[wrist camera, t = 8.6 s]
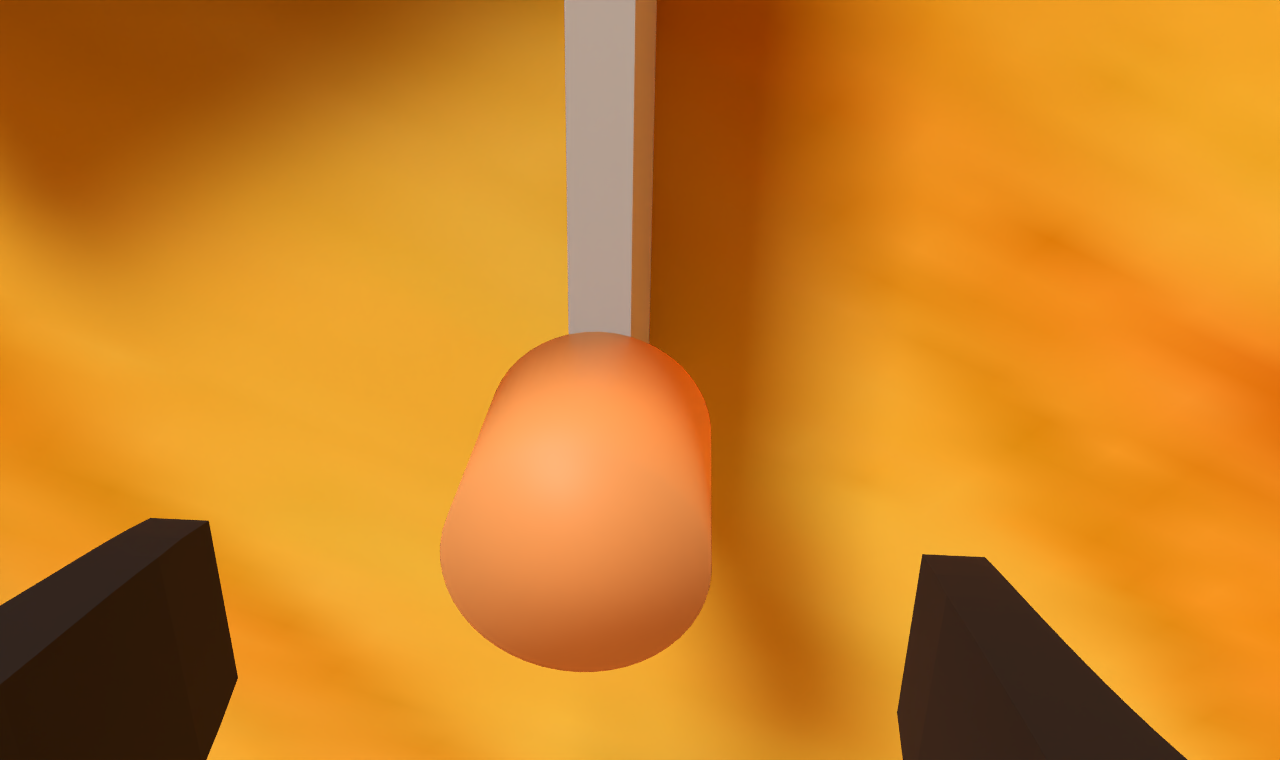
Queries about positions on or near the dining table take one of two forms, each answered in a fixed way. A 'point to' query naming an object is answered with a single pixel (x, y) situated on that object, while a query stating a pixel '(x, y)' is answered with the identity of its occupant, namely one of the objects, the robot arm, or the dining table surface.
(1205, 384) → the dining table surface
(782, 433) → the dining table surface
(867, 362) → the dining table surface
